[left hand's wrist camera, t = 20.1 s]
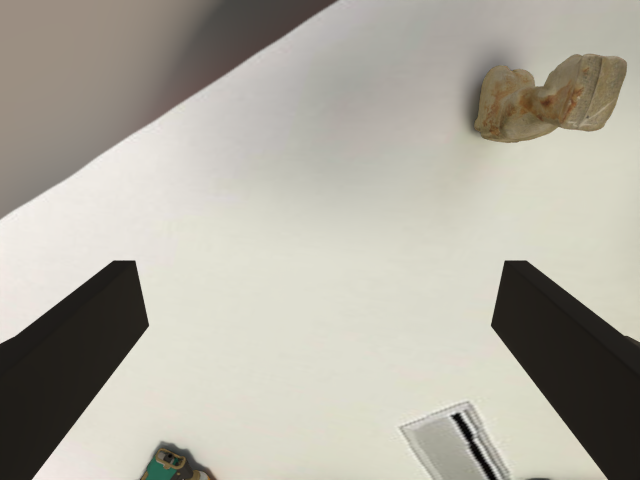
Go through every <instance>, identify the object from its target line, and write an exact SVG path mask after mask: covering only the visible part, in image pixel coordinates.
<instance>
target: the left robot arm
mask: <svg viewBox="0 0 640 480" xmlns="http://www.w3.org/2000/svg"><path fill="white" fill-rule="evenodd" d="M148 327H149V323H148V318H147V314H146V309H145V304H144V300H143V295H142V290H141V285H140V281H139V276H138V271H137V267H136V262H135V261H112V262H111V263H110V264H109V265H107V266H106V267H105V268H103V269H102V270H101V271H99V272H98V273H97V274H96V275H94V276H93V277H92V278H90V279H89V280H88V281H86V282H85V283H84V284H83V285H81V286H80V287H79V288H77V289H76V290H75V291H73V292H72V293H71V294H70V295H68V296H67V297H66V298H64V299H63V300H62V301H60V302H59V303H58V304H57V305H55V306H54V307H53V308H51V309H50V310H49V311H47V312H46V313H45V314H44V315H42V316H41V317H40V318H38V319H37V320H36V321H34V322H33V323H32V324H31V325H29V326H28V327H27V328H25V329H24V330H23V331H22V332H20V333H19V334H18V335H16V336H15V337H13V338H11V339H9V340H7V341H5V342H3V343H1V344H0V480H32V479H33V477H34V476H35V475H36V473H37V472H38V471H39V470H40V468H41V467H42V466H43V464H44V463H45V462H46V460H47V459H48V458H49V456H50V455H51V454H52V452H53V451H54V450H55V449H56V447H57V446H58V445H59V443H60V442H61V441H62V439H63V438H64V437H65V435H66V434H67V433H68V431H69V430H70V429H71V428H72V426H73V425H74V424H75V422H76V421H77V420H78V418H79V417H80V416H81V414H82V413H83V412H84V411H85V409H86V408H87V407H88V405H89V404H90V403H91V401H92V400H93V399H94V397H95V396H96V395H97V393H98V392H99V391H100V390H101V388H102V387H103V386H104V384H105V383H106V382H107V380H108V379H109V378H110V376H111V375H112V374H113V372H114V371H115V370H116V369H117V367H118V366H119V365H120V363H121V362H122V361H123V359H124V358H125V357H126V355H127V354H128V353H129V352H130V350H131V349H132V348H133V346H134V345H135V344H136V342H137V341H138V340H139V338H140V337H141V336H142V334H143V333H144V332H145V331H146V329H147V328H148ZM491 327H492V328H493V329H494V331H495V332H496V333H497V334H498V336H499V337H500V338H501V340H502V341H503V342H504V344H505V345H506V346H507V348H508V349H509V350H510V352H511V353H512V354H513V355H514V357H515V358H516V359H517V361H518V362H519V363H520V365H521V366H522V367H523V369H524V370H525V371H526V372H527V374H528V375H529V376H530V378H531V379H532V380H533V382H534V383H535V384H536V386H537V387H538V388H539V390H540V391H541V392H542V393H543V395H544V396H545V397H546V399H547V400H548V401H549V403H550V404H551V405H552V407H553V408H554V409H555V411H556V412H557V413H558V414H559V416H560V417H561V418H562V420H563V421H564V422H565V424H566V425H567V426H568V428H569V429H570V430H571V431H572V433H573V434H574V435H575V437H576V438H577V439H578V441H579V442H580V443H581V445H582V446H583V447H584V449H585V450H586V451H587V452H588V454H589V455H590V456H591V458H592V459H593V460H594V462H595V463H596V464H597V466H598V467H599V468H600V470H601V471H602V472H603V473H604V475H605V476H606V477H607V479H608V480H640V342H638V341H636V340H634V339H632V338H630V337H628V336H624V335H622V334H621V333H620V332H618V331H617V330H616V329H615V328H613V327H612V326H611V325H609V324H608V323H607V322H606V321H604V320H603V319H602V318H600V317H599V316H598V315H596V314H595V313H594V312H593V311H591V310H590V309H589V308H587V307H586V306H585V305H583V304H582V303H581V302H580V301H578V300H577V299H576V298H574V297H573V296H572V295H570V294H569V293H568V292H567V291H565V290H564V289H563V288H561V287H560V286H559V285H557V284H556V283H555V282H554V281H552V280H551V279H550V278H548V277H547V276H546V275H544V274H543V273H542V272H541V271H539V270H538V269H537V268H535V267H534V266H533V265H531V264H530V263H529V262H528V261H505V262H504V267H503V271H502V276H501V281H500V285H499V290H498V295H497V300H496V304H495V309H494V314H493V318H492V323H491Z"/></svg>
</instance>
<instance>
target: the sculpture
mask: <svg viewBox="0 0 640 480" xmlns="http://www.w3.org/2000/svg"><path fill="white" fill-rule="evenodd" d="M626 70H627V62H626V61H625V60H624V59H622V58H620V57H617V56H608V57H605V56H599V55H595V54H586V55H583V56H581V55H578V54H576V55H572V56H570V57H569V58H568V59H566V60H565V61H564V62H562V63H561V64H560V65H558V66H557V68H556V69H555V70H554V71H552V72H551V73H550V74H549V76H548V78H547V80H546V82H545V85H544V86H543V87H535V83H534V78H533V76H532V74H530V73H529V72H528V71H525V70H522V69H516V70H513V71H511V70H510V69H509V68H508V67H507V66H501V65H499V66H496V67H494V68H492V69H491V70H490V71H489V72H488V73H487V75H486V76H485V78H484V81H483V84H482V88H481V94H480V102H479V112H478V117H477V119H476V120H475V123H474V127H475V129H476V130H477V131H480V132H481V136H482V137H483V138H484V139H488V140H492V141H497V142H505V143H511V142H519V141H525V140H531V139H535V138H537V137H540V136H543V135H546V134H549V133H551V132H552V131H554V130H555V129H556V128H558V127H561V128H564V129H574V130H583V131H595V130H599V129H601V128H602V127H604V125H605V123H606V121H607V120H608V119H609V117H610V116H611V114H612V112H613V110H614V107H615V105H616V102H617V99H618V96H619V92H620V89H621V86H622V84H623V81H624V78H625V76H626Z"/></svg>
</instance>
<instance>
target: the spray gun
mask: <svg viewBox="0 0 640 480" xmlns="http://www.w3.org/2000/svg"><path fill="white" fill-rule="evenodd" d="M160 451H164V452H166V453H167V454H164V453H162V452H160ZM174 457H176V458H174ZM177 458H178V459H183V461H182V460H181V461H180V462H178V459H177ZM182 479H184V480H210V478H209V477H208V475H207V474H205V473H204V472H202V471H198V470H193V471H192V469H191V467H190V465H189V464H188V462H187V460H186V458H185V457H184V456H179V455H177V454H174V453H172V452H170V451H168V450H166V449H164V448H161V449H159V450H158V452H157V453H156V455H155V456H154V458H153V459H152V460H151V462H150V463H149V465H148V467H147V471H146V472H145V474H144V475H143V477H142V478H141V480H182Z"/></svg>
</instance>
